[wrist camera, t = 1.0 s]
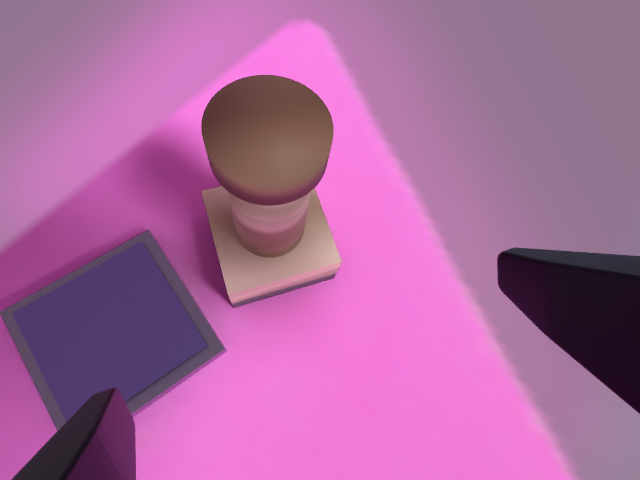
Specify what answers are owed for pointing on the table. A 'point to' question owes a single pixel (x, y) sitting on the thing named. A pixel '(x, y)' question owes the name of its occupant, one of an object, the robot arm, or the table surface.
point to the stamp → (268, 186)
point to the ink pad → (112, 331)
